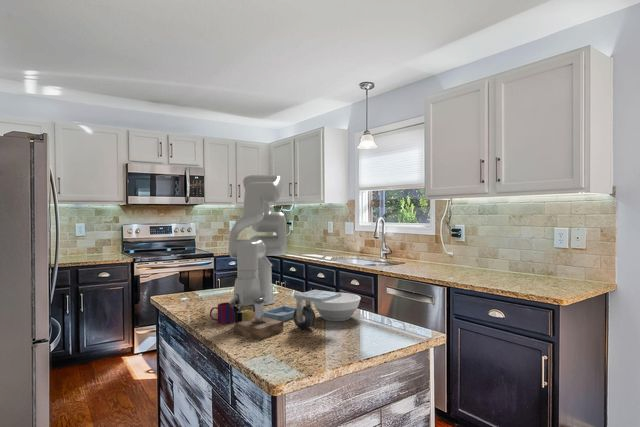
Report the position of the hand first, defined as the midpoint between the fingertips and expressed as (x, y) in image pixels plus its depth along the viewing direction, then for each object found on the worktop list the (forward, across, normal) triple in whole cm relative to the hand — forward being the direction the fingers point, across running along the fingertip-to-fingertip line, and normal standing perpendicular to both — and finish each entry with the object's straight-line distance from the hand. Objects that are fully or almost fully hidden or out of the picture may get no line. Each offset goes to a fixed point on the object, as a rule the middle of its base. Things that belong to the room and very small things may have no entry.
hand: (247, 320), depth 152 cm
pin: (+2, +4, +10) cm, 11 cm away
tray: (+2, -17, +2) cm, 17 cm away
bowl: (+2, -28, +21) cm, 35 cm away
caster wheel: (+2, -10, +24) cm, 26 cm away
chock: (+2, 0, 0) cm, 2 cm away
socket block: (+2, +4, +10) cm, 11 cm away
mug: (+2, +3, -11) cm, 12 cm away
